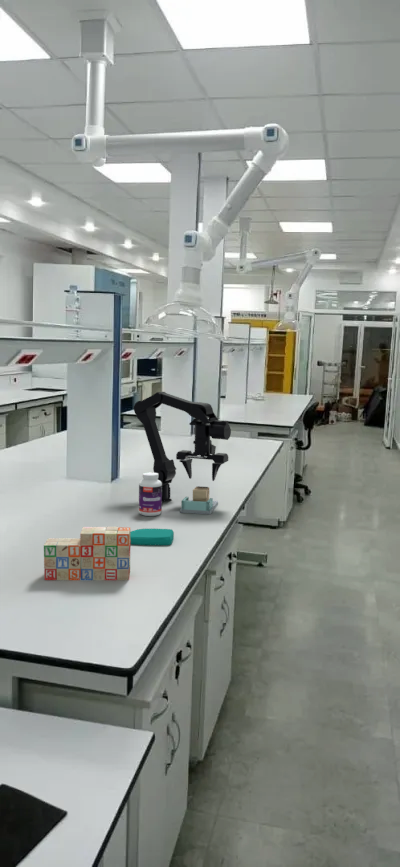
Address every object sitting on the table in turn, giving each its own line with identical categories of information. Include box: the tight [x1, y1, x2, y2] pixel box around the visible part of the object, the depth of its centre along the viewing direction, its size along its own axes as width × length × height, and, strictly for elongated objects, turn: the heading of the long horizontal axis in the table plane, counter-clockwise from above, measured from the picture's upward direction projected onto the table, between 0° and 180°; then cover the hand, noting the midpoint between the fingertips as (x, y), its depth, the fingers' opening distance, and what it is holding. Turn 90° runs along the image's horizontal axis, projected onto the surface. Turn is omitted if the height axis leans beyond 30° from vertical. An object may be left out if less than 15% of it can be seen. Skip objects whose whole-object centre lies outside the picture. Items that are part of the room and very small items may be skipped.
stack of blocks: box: [43, 526, 132, 581], centre depth 165 cm, size 21×6×12 cm, turn 93°
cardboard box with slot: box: [192, 485, 210, 502], centre depth 240 cm, size 6×5×6 cm
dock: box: [179, 496, 219, 515], centre depth 237 cm, size 15×11×4 cm
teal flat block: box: [130, 528, 175, 547], centre depth 198 cm, size 3×11×24 cm
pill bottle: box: [138, 471, 163, 517], centre depth 228 cm, size 8×8×14 cm
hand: (201, 479), depth 240 cm, fingers open, 9 cm apart
